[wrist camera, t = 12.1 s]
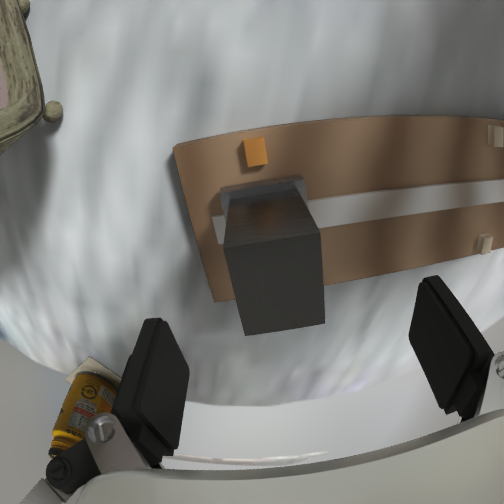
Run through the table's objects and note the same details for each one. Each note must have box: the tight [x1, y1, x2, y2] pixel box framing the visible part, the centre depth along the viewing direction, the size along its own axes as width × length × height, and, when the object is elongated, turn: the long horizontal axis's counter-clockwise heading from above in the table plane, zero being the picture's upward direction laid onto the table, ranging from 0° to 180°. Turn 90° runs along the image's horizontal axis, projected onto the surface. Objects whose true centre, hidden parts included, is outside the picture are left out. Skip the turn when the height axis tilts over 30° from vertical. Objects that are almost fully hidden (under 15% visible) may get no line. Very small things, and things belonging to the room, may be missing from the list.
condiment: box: [49, 357, 122, 459], centre depth 27 cm, size 7×8×12 cm
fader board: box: [173, 115, 504, 302], centre depth 20 cm, size 28×12×2 cm, turn 100°
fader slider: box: [219, 174, 325, 336], centre depth 17 cm, size 5×6×7 cm
